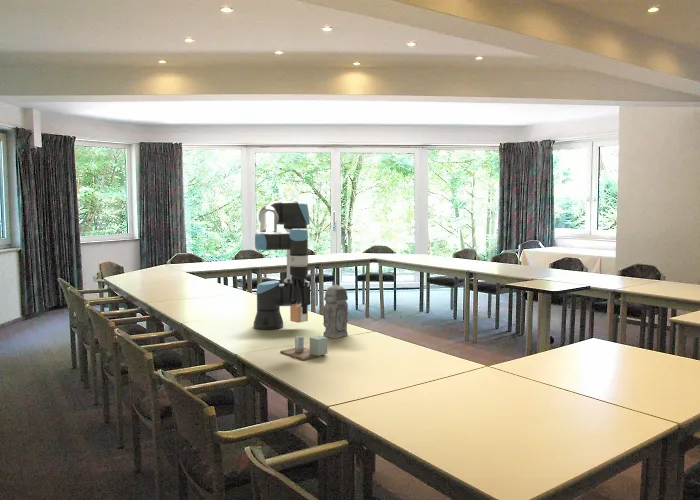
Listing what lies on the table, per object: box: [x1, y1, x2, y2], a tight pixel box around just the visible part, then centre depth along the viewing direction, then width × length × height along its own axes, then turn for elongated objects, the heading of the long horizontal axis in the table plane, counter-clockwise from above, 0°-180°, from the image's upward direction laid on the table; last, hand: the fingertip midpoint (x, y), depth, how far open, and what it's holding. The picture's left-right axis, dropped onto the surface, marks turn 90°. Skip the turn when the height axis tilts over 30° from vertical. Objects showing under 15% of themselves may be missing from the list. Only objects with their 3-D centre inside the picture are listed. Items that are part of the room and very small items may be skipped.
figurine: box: [322, 283, 349, 339], centre depth 267 cm, size 10×14×25 cm
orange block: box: [289, 304, 309, 324], centre depth 234 cm, size 5×5×7 cm
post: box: [294, 335, 305, 353], centre depth 236 cm, size 3×3×6 cm
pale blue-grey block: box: [309, 335, 328, 356], centre depth 232 cm, size 5×5×7 cm
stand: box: [279, 347, 325, 362], centre depth 234 cm, size 16×11×1 cm
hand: (299, 320), depth 234 cm, fingers closed on orange block, 5 cm apart
